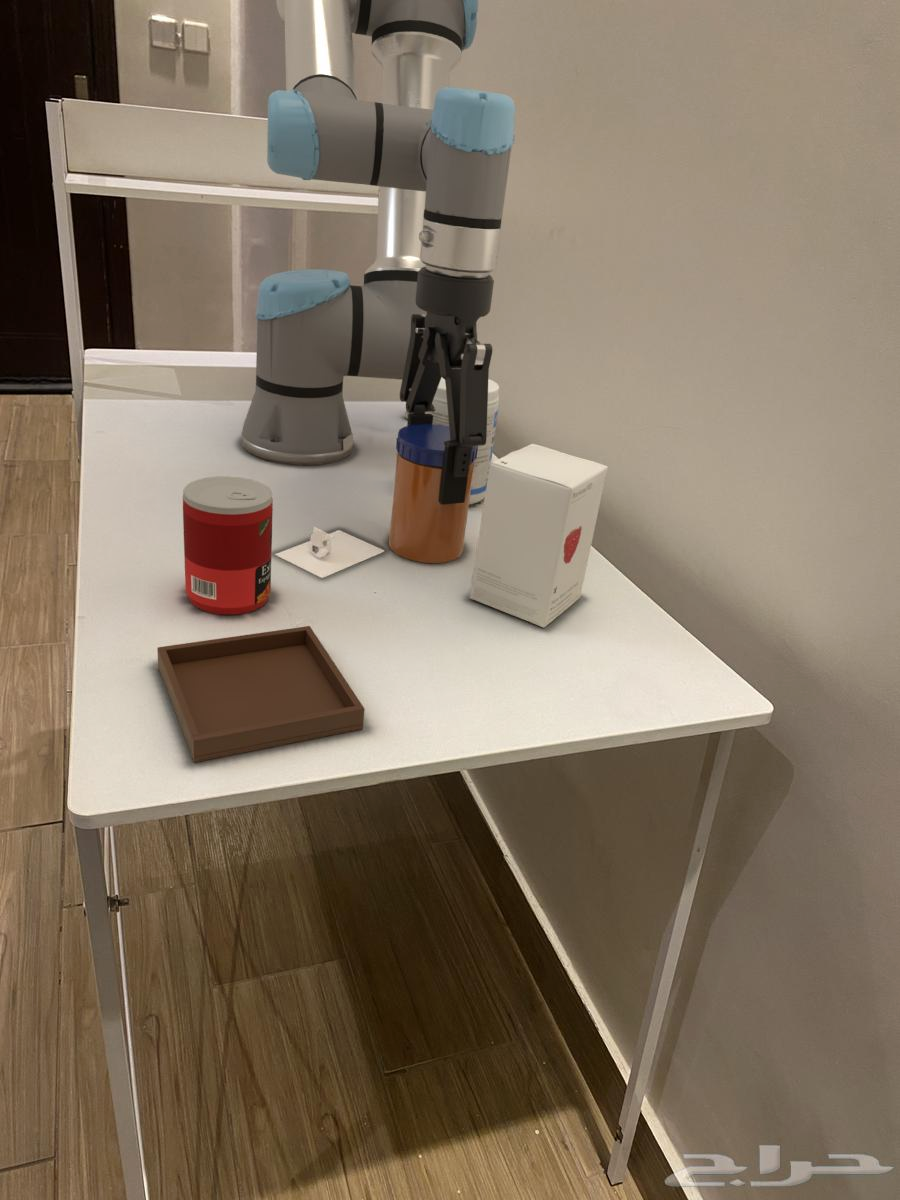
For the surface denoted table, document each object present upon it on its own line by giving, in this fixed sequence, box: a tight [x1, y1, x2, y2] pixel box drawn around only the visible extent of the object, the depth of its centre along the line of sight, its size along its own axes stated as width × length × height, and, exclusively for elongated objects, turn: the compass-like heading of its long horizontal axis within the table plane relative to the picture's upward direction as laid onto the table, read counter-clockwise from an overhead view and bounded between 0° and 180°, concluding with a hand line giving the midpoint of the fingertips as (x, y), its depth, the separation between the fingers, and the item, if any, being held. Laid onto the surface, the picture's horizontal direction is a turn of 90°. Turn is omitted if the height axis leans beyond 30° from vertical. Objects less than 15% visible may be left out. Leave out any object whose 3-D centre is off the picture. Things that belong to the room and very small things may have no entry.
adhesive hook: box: [306, 526, 335, 559], centre depth 97 cm, size 3×3×3 cm
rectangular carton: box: [469, 443, 609, 628], centre depth 91 cm, size 9×9×15 cm
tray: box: [156, 625, 365, 763], centre depth 73 cm, size 13×13×2 cm
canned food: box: [182, 475, 274, 616], centre depth 85 cm, size 8×8×11 cm
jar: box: [388, 451, 475, 564], centre depth 100 cm, size 8×8×12 cm
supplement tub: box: [425, 377, 500, 505], centre depth 115 cm, size 10×10×15 cm
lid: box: [395, 424, 478, 467], centre depth 97 cm, size 9×9×2 cm
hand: (432, 485), depth 99 cm, fingers closed on lid, 9 cm apart
